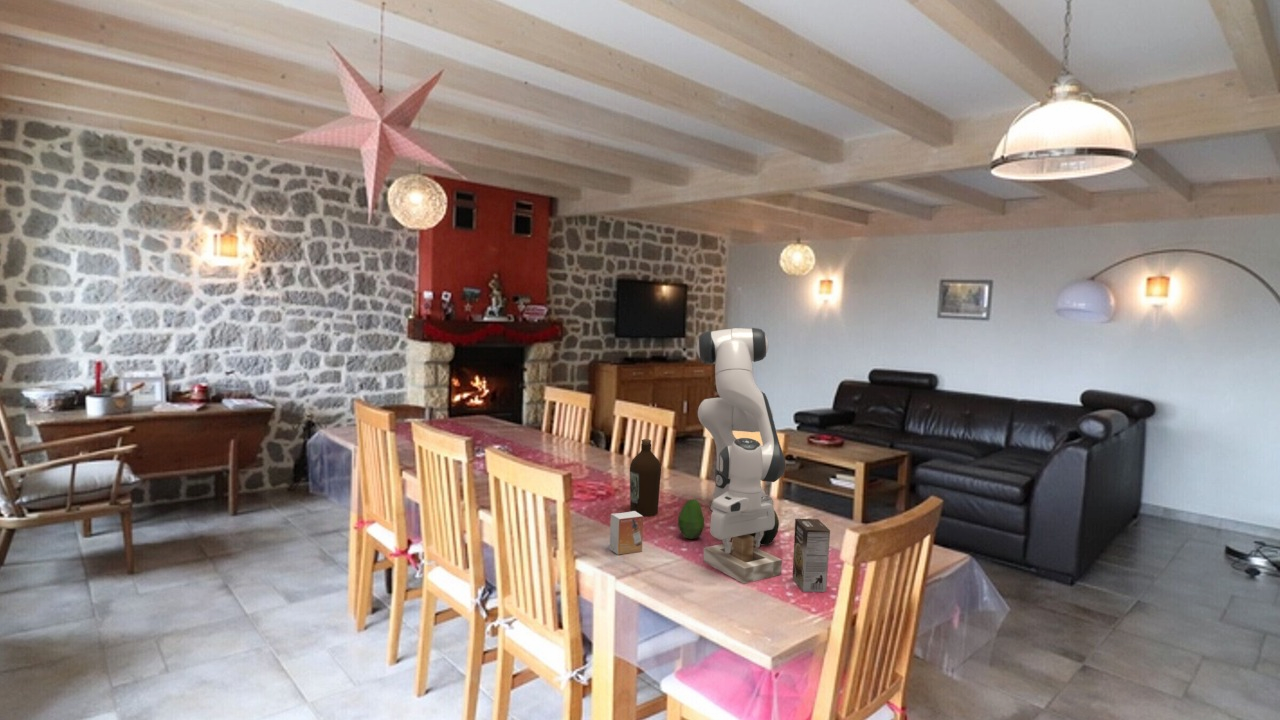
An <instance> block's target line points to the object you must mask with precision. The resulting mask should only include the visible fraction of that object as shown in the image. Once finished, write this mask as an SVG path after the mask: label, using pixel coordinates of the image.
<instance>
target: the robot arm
mask: <svg viewBox="0 0 1280 720" xmlns="http://www.w3.org/2000/svg"><path fill="white" fill-rule="evenodd" d="M768 350H769V341H768V337H767V336H766V332H765V331H764V330H763V329H761V328H758V327H752V328H746V327H745V328H744V327H743V328H741V327H740V328H739V327H737V328H735V327H734V328H728V329H727V328H725V329H718V330H713V331H712V330H708V331H704V332H701V334H700V335H699V336H698V339H697V342H696V353H697V356H698V357H699V360H700V361H701V362H702V363H703V364H707V365H710V366H712V365H715V366H714V367H715V369H714V371H715V375H714V376H715V377H714V378H715V387H716V391H717V394H718V396H719V397H710V398H704V399H703V400H702V401H701V402H700V404H699V406H698V409H697V417H698V420H699V422H700V424H701V425H702V426H703V427H704V428H705V429H706V430H707V431H708V432H709V434H710V435H711V437H712V439H713V441H714V443H715V448H716V468H715V472H714V483H715V485H714V492H713V497H712V501H711V504H710V508H709V509H710V510H711V511H712V512H711V517H710V524H709V526H710V529H709V532H710V534H711V536H712V537H713V538H715V539H717V540H720V541H721V542H722V544H724V545H725V552H726V553H728V554H729V553H733V546H731V545H730V543H729V542H732V541H731V540H732V537H737V536H742V535H747V534H752V533H756V535H755V538H754V540H753V547H754V548H760V546H761V544H760V541H761V539H762V537H763V535H764V531H767V530H772V529H773V527H774V526H775V515H774V510H775V507H774V499H773V497H771V496H769V495H766V492H765V491H764V490H763V487H762V483H761V482H766V483H767V482H769V483H775V482H776V481H779V480H780V478H782V477H783V475H784V474H785V472H786V458H785V455H784V451H783V449H782V447H781V444H780V440H779V438H778V437H779V436H778V433H777V432H778V431H777V429H776V426H775V425H776V423H775V421H774V414H773V410H772V408H771V406H770V402H769V400H768V397H767V395H766V393H764V392H763V391H761V390H760V389H759V386H757V384H756V381H755V379H754V370H753V363H756V362H759V361H760V362H761V361H763V360H764V359H765V358H766V357H767V353H768ZM752 362H753V363H752ZM734 432H744V433H745V432H746V433H759V435H760V437H761V442H762V444H761V443H760V442H759V441H758V440H756V439H753V438H748V437H740V438H737V437H735V435H734Z"/></svg>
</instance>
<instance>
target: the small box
mask: <svg viewBox="0 0 1280 720" xmlns="http://www.w3.org/2000/svg"><path fill="white" fill-rule="evenodd" d="M609 523H610V526H609V527H610V528H609V531H610V532H609V550H610V551H612V552H613V553H614V554H616V555H618V556H619V555H625V554H633V553H641V552H642V551H643V535H644V517H643V516H642V515H641V514H639V513H637V512H636V511H632V512H630V511H626V512H615V513H610V522H609Z"/></svg>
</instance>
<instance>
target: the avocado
mask: <svg viewBox="0 0 1280 720" xmlns="http://www.w3.org/2000/svg"><path fill="white" fill-rule="evenodd" d="M703 513H704V512H703V509H702V506H701V503H700V502H699V501H698V499H689V500H687V501H686V502H685V503H684V505H683V506H682V508H681V510H680V513H679V515H678V519H677V520H678V522H677V526H678V529H679V531H680V533H681V534H682V535H683V536H684V537H685V538H687V539H689V540H695V539H696V538H699V537H700V535H701V534H702V533H703V530H704V527H705V517H704V514H703Z"/></svg>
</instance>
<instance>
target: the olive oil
mask: <svg viewBox="0 0 1280 720" xmlns="http://www.w3.org/2000/svg"><path fill="white" fill-rule="evenodd" d="M640 446H641V447H640V449H641V450H640V451H639V452H638V454H637V455H636V456H634V458H632V460H631V462H630V466H629V490H630V491H629V492H630V493H629V496H630V497H629V499H630V503H629V505H630V506H629V512H632V511H636V512H637V513H639V514H641V515H642V516H643V518H645V517H646V518H647V517H654V516H656V515H657V514H658V513H659V503H660V502H659V501H660V500H659V499H660V488H661V487H660V486H661V478H662V477H661V476H662V465H661V462H660V460H659V459H658V458H657V456H656V455H655V454H654V453H653V452H652V440H651V439H648V438H647V439H646V438H644V439H641V445H640Z"/></svg>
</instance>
